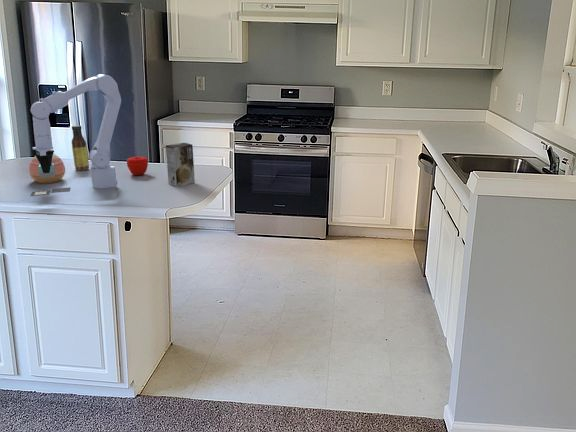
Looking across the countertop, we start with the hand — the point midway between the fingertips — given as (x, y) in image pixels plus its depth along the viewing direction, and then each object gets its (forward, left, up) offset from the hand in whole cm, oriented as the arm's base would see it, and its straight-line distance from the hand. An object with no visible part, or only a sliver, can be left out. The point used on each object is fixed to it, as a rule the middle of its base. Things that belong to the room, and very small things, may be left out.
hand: (47, 171), depth 211 cm
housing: (0, 0, -2) cm, 2 cm away
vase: (+2, -20, -9) cm, 22 cm away
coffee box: (-50, -4, -9) cm, 51 cm away
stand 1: (+3, +1, -9) cm, 10 cm away
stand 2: (-4, -2, -9) cm, 10 cm away
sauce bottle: (-10, -45, -9) cm, 47 cm away
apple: (-34, -26, -9) cm, 44 cm away
